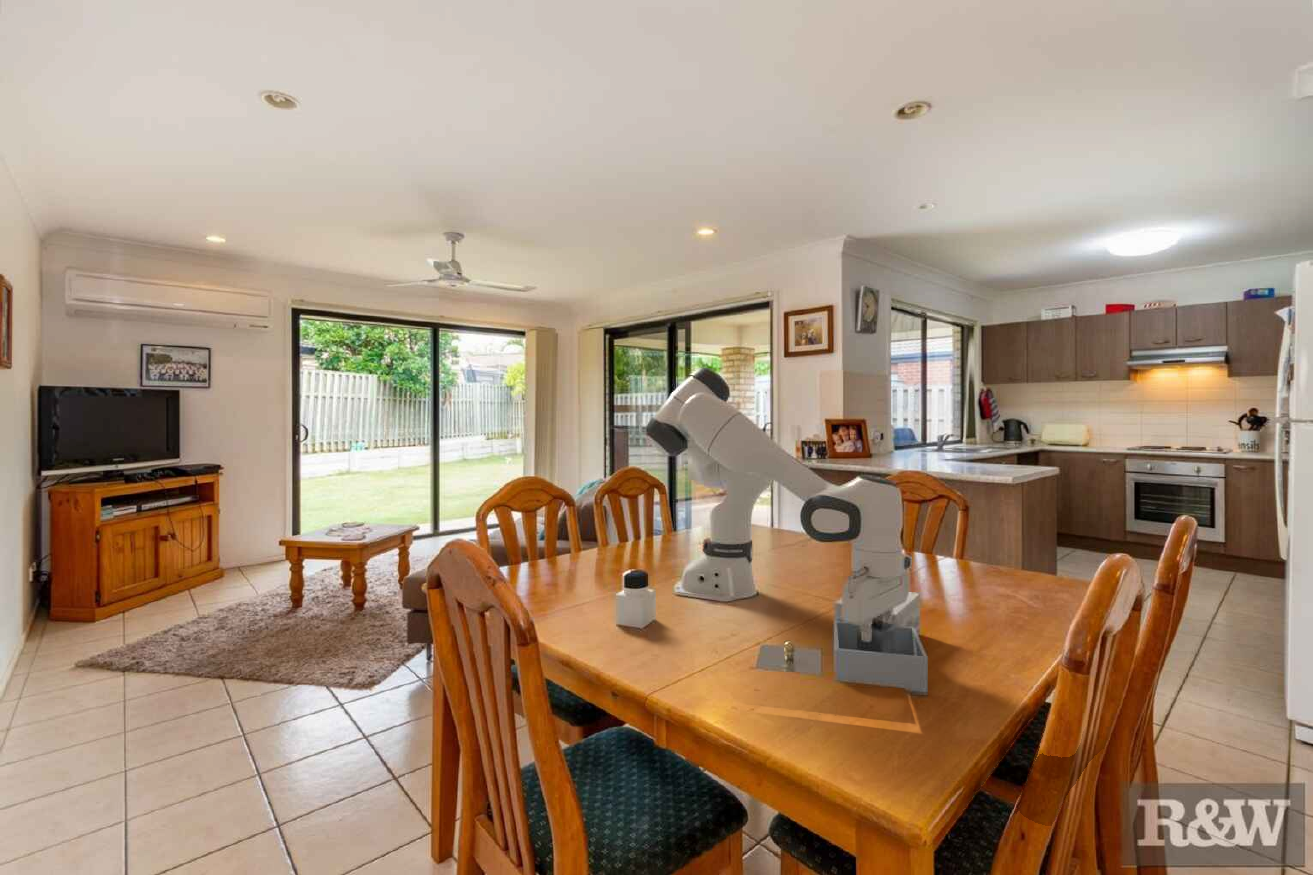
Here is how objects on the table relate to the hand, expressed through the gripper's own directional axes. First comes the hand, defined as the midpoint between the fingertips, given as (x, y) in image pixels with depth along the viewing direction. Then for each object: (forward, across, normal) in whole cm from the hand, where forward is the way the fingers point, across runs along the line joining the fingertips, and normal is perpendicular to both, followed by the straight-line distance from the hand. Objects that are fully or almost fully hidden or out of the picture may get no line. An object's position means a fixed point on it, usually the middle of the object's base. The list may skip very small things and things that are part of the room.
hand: (875, 636), depth 113 cm
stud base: (+7, -8, +14) cm, 17 cm away
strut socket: (+3, 0, 0) cm, 3 cm away
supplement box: (+7, +16, +7) cm, 20 cm away
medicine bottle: (+7, -13, +52) cm, 54 cm away
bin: (+7, 0, 0) cm, 7 cm away
